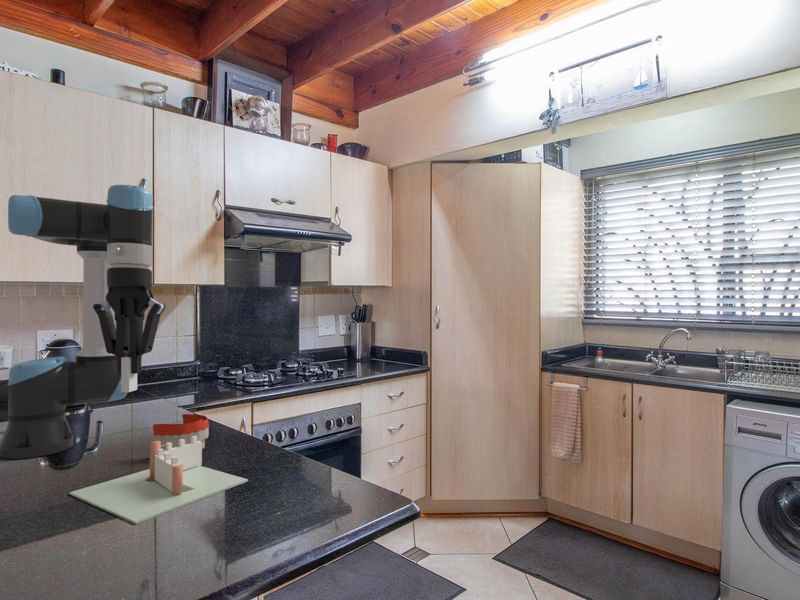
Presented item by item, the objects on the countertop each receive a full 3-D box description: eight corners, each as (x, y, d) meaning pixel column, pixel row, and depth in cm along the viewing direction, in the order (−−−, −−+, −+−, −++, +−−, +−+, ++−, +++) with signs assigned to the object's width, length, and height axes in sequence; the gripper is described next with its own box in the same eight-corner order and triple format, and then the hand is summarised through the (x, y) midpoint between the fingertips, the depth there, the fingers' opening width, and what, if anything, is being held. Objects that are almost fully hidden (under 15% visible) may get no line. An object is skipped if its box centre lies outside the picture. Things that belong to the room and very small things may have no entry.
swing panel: (153, 480, 97) (153, 448, 97) (162, 477, 98) (162, 447, 98) (174, 495, 89) (174, 461, 89) (184, 492, 90) (184, 458, 90)
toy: (189, 460, 112) (189, 426, 112) (150, 458, 114) (151, 425, 114) (219, 445, 124) (219, 415, 124) (183, 443, 126) (184, 413, 126)
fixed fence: (147, 481, 98) (148, 442, 98) (197, 465, 108) (197, 430, 108) (153, 483, 97) (153, 444, 97) (202, 467, 107) (202, 431, 107)
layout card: (69, 494, 91) (69, 491, 91) (180, 461, 111) (180, 459, 111) (135, 524, 78) (135, 521, 78) (247, 481, 98) (248, 479, 98)
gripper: (82, 266, 87) (82, 394, 86) (153, 265, 86) (152, 394, 86) (108, 269, 94) (108, 387, 94) (173, 269, 94) (172, 387, 94)
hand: (129, 390), depth 90 cm, fingers closed
